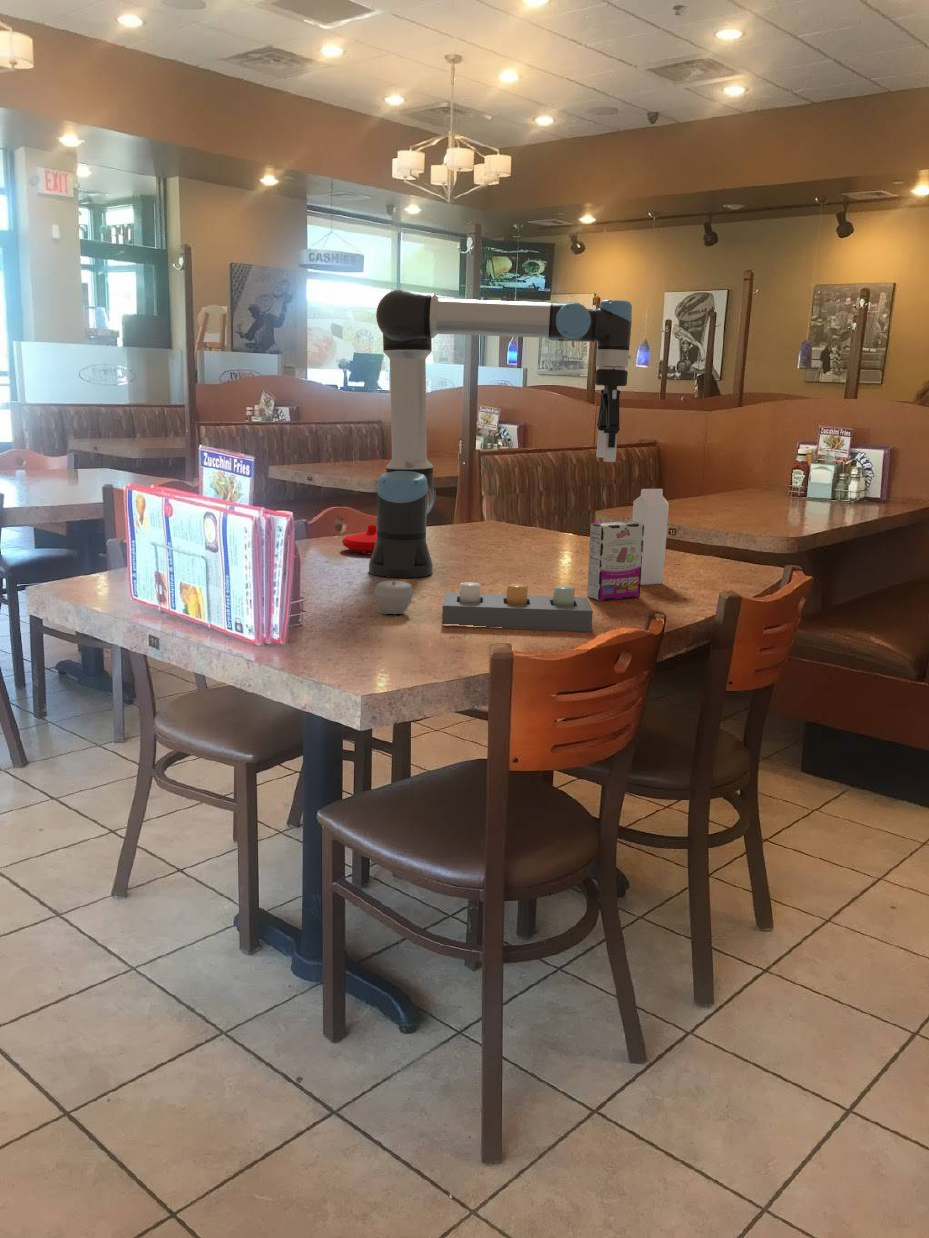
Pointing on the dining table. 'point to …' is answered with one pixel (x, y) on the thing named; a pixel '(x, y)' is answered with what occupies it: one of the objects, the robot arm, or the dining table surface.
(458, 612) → the block
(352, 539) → the red disc with nozzle
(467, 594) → the button ivory
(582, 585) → the dining table surface
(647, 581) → the milk
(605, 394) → the robot arm
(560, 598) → the button sage
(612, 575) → the candy bar box
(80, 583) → the dining table surface
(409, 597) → the apple
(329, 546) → the dining table surface
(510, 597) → the button amber
